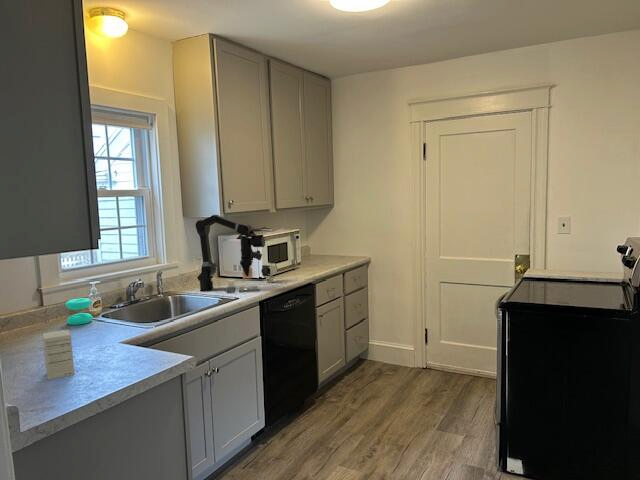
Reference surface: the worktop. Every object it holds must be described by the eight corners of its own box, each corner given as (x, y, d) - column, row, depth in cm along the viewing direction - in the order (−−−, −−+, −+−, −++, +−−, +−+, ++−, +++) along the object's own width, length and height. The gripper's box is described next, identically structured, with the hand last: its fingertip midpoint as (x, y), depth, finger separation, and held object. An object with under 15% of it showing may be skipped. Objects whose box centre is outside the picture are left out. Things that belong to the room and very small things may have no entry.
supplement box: (46, 373, 146) (42, 333, 145) (73, 367, 150) (69, 328, 149) (46, 380, 140) (42, 338, 139) (74, 375, 144) (71, 334, 142)
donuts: (69, 303, 199) (62, 300, 206) (71, 327, 200) (64, 323, 207) (94, 299, 206) (86, 296, 213) (96, 322, 207) (88, 318, 214)
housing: (242, 278, 259) (242, 268, 259) (243, 276, 264) (242, 266, 264) (252, 278, 260) (251, 267, 259) (252, 276, 265) (252, 266, 264)
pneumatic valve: (261, 284, 280) (260, 263, 279) (271, 280, 291) (270, 261, 290) (269, 284, 278) (268, 264, 277) (279, 280, 289) (278, 261, 288)
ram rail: (226, 293, 258) (226, 287, 257) (229, 288, 271) (228, 283, 271) (232, 292, 258) (232, 287, 258) (234, 287, 272) (234, 282, 271)
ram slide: (228, 287, 268) (227, 281, 267) (228, 286, 271) (228, 280, 271) (234, 286, 268) (233, 280, 268) (234, 285, 271) (234, 279, 271)
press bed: (238, 292, 258) (238, 290, 258) (239, 289, 266) (239, 287, 266) (257, 291, 259) (257, 289, 259) (257, 288, 267) (257, 286, 267)
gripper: (260, 248, 252) (261, 277, 253) (261, 244, 270) (262, 271, 272) (239, 249, 251) (240, 278, 252) (241, 245, 269) (243, 272, 271)
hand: (247, 275), depth 262 cm, fingers closed on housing, 5 cm apart
